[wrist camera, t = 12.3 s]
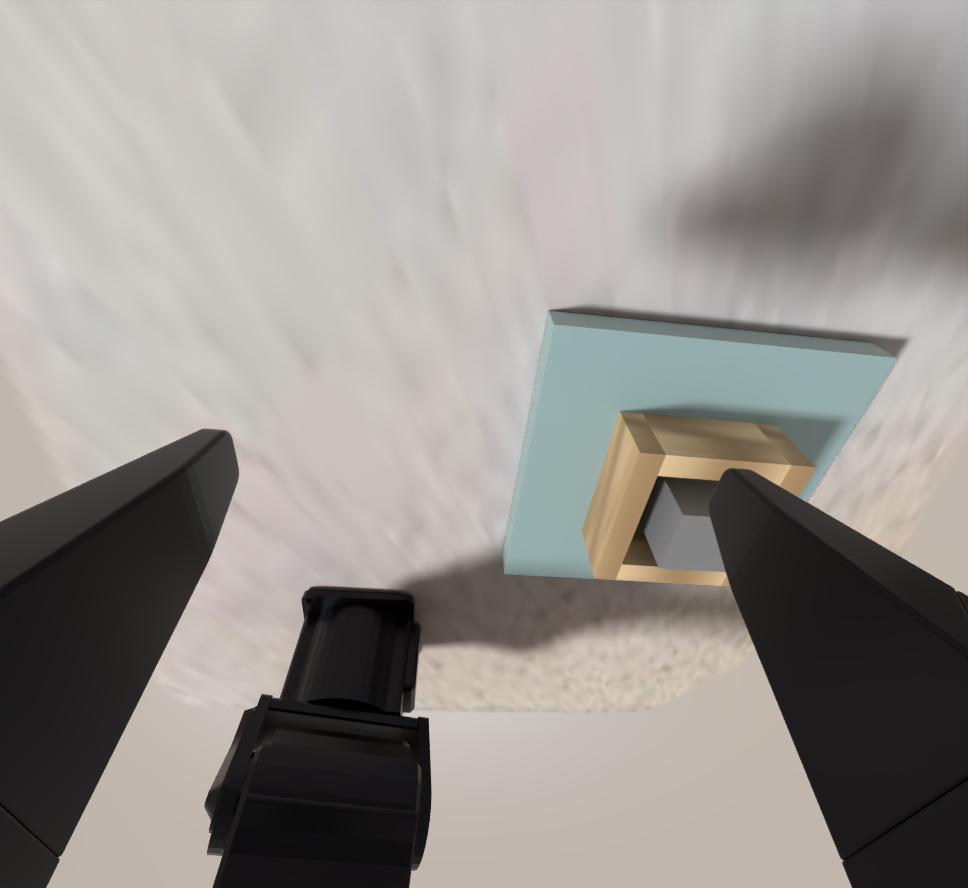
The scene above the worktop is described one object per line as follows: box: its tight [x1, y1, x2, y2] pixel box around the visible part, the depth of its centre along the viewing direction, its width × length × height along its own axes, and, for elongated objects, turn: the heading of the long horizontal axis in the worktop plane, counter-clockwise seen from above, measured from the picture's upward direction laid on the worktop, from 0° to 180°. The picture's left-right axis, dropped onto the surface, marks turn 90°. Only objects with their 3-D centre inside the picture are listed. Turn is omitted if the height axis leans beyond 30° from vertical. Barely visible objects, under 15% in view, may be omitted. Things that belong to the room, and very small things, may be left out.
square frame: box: [582, 411, 816, 586], centre depth 22 cm, size 7×7×3 cm
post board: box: [503, 311, 898, 586], centre depth 22 cm, size 14×14×6 cm
